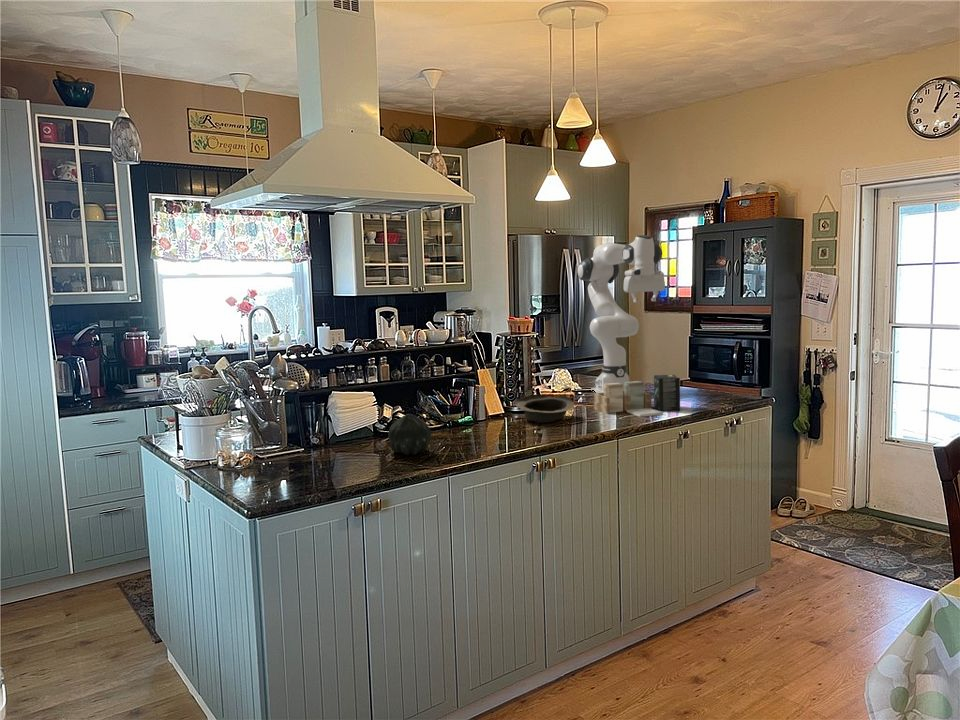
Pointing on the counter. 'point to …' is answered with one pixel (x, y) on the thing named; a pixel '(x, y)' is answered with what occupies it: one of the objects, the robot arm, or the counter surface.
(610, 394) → the block
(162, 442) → the counter surface
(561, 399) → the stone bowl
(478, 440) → the counter surface
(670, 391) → the tampon box
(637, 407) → the shelf
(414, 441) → the squash
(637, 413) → the tile
